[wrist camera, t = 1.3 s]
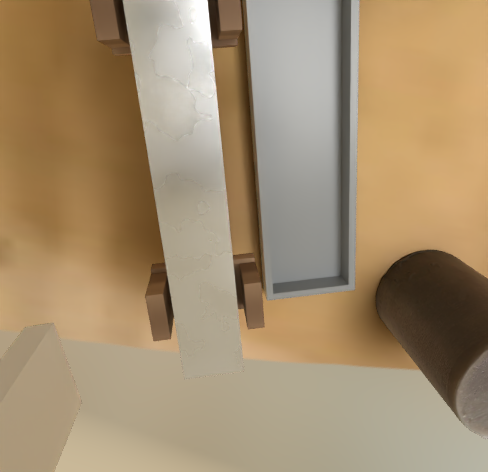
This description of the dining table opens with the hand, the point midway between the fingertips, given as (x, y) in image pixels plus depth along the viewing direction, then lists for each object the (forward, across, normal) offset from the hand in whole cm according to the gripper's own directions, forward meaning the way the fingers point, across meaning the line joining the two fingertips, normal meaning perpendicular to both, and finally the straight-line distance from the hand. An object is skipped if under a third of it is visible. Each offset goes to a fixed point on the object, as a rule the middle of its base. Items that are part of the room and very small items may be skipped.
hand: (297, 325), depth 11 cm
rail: (+14, -3, +2) cm, 14 cm away
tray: (+25, +6, +2) cm, 25 cm away
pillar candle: (+25, +17, -16) cm, 34 cm away
